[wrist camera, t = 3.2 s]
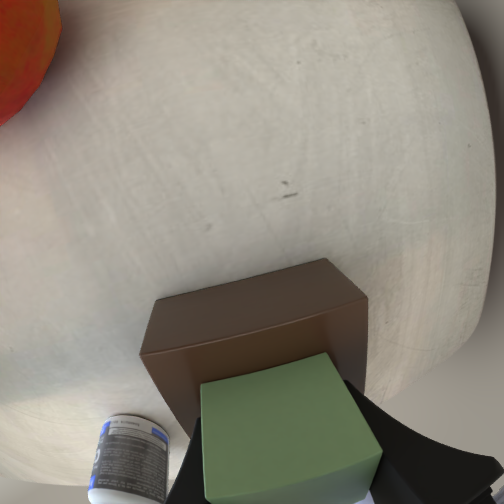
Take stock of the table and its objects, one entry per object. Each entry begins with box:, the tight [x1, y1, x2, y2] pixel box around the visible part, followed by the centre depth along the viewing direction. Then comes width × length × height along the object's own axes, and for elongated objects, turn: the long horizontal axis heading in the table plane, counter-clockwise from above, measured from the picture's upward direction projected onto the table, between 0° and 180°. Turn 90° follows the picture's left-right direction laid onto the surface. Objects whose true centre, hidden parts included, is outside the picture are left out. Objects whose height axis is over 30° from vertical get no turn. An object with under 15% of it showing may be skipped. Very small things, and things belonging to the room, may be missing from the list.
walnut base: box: [139, 258, 368, 439], centre depth 12 cm, size 8×8×4 cm
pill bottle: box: [88, 415, 170, 504], centre depth 11 cm, size 5×5×8 cm
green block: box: [201, 352, 383, 504], centre depth 8 cm, size 5×5×5 cm
